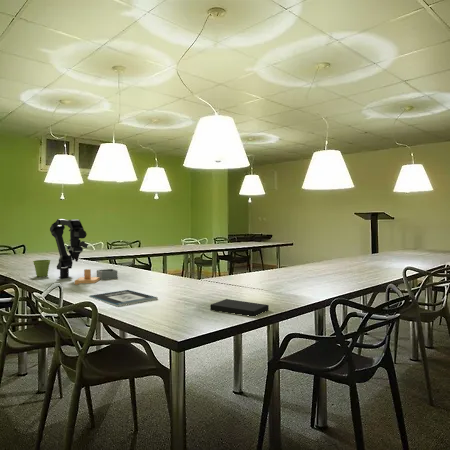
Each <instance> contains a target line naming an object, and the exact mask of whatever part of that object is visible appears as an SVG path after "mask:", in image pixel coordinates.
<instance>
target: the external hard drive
mask: <svg viewBox="0 0 450 450" xmlns="http://www.w3.org/2000/svg"><path fill="white" fill-rule="evenodd" d="M269 308H270V307H269V304H265V303H258V302H257V303H256V302H250V301H243V300H235V299H228V298H226V299H223V300H220V301H217V302H214V303H211V304H210V311H212V310H215V311H214V312H219V311H222V312H221V313H225V312H228V313H227V314H231V313H235V314H234V315H237V314H242V315H241V316H243V315H249V316H256V315H258V314H260V313H262V312H264V313H266V312H268V311H269ZM265 311H266V312H265ZM262 314H263V313H262ZM260 315H261V314H260ZM249 316H248V317H249ZM258 316H259V315H258ZM256 317H257V316H256Z"/></svg>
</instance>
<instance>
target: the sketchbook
mask: <svg viewBox="0 0 450 450" xmlns="http://www.w3.org/2000/svg"><path fill="white" fill-rule="evenodd" d="M89 297H90V298H92V299H94V298H95V300H97V299H98V301H100V300H101V301H100V302H103V301H104V302H103V303H106V302H107V303H106V304H108V303H110V304H109V305H111V304H113V305H112V306H114V305H116V306H115V307H117V306H118V307H119V306H120V305H122V306H121V307H124V306H125V305H126V304H127V305H126V306H129V305H134V304H133V303H135V304H137V303H138V302H140V303H138V304H141V303H147V302H148V301H149V302H152V301H157V300H158V297H157V296H155V295H154V296H153V295H149V294H145V293H141V292H138V291H134V290H130V289H124V290H123V289H122V290H117V291H110V292H103V293H96V294H92V295H89ZM150 300H151V301H150ZM144 301H145V302H144ZM128 304H129V305H128ZM123 305H124V306H123Z"/></svg>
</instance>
